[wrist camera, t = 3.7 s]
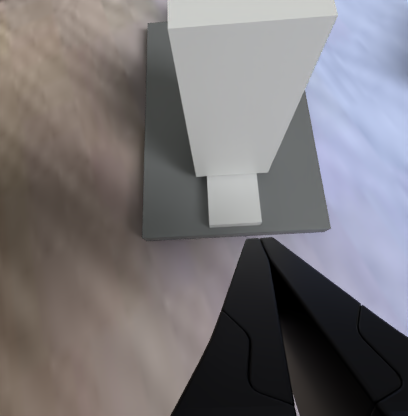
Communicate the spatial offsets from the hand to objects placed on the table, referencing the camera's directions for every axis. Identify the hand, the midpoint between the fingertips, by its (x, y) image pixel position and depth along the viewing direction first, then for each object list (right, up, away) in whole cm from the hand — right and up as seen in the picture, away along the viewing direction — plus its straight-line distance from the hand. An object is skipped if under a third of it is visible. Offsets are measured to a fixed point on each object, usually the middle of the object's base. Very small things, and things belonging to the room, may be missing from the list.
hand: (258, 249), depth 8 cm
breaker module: (0, +6, +11) cm, 13 cm away
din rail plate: (0, +9, +14) cm, 16 cm away
